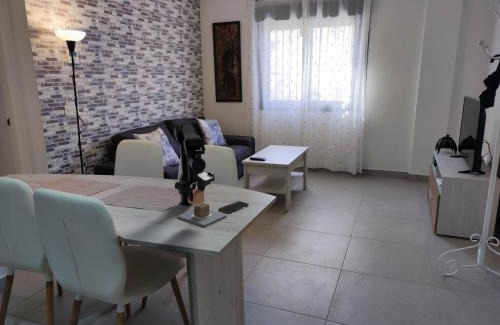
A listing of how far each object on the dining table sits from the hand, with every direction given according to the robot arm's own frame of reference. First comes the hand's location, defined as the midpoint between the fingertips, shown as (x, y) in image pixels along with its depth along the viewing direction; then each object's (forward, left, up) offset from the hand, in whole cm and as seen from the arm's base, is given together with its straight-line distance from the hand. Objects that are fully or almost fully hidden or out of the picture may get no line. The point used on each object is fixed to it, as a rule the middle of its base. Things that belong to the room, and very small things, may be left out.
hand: (196, 199), depth 155 cm
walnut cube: (-2, +5, -9) cm, 11 cm away
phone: (+2, +23, -11) cm, 25 cm away
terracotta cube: (0, 0, -1) cm, 1 cm away
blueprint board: (-2, +5, -10) cm, 12 cm away
